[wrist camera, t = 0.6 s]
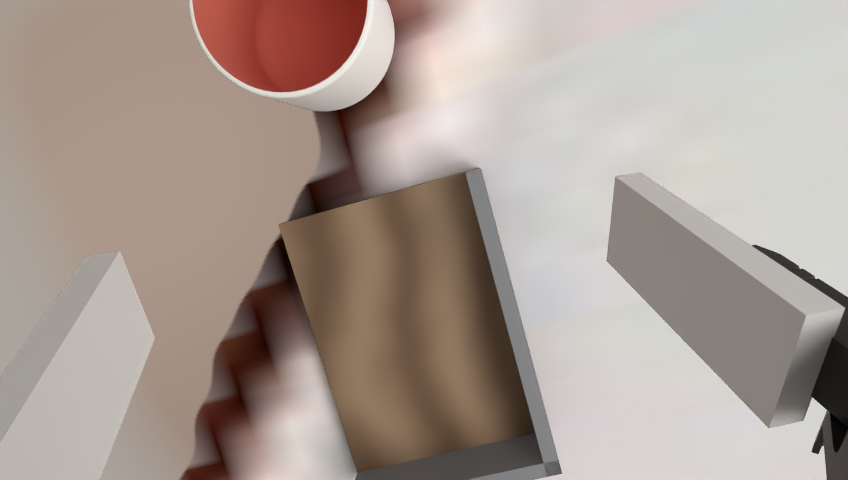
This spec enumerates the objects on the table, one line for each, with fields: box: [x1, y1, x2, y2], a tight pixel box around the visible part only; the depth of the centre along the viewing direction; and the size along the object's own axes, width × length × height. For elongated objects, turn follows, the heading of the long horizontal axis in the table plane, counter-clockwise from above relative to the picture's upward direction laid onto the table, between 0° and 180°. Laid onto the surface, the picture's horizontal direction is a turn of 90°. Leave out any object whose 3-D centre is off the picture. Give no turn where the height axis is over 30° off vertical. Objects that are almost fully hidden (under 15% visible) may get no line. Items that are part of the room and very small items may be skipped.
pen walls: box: [355, 168, 562, 480], centre depth 38 cm, size 15×21×4 cm
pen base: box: [279, 168, 535, 473], centre depth 40 cm, size 15×21×1 cm
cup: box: [189, 0, 394, 111], centre depth 33 cm, size 10×10×10 cm
